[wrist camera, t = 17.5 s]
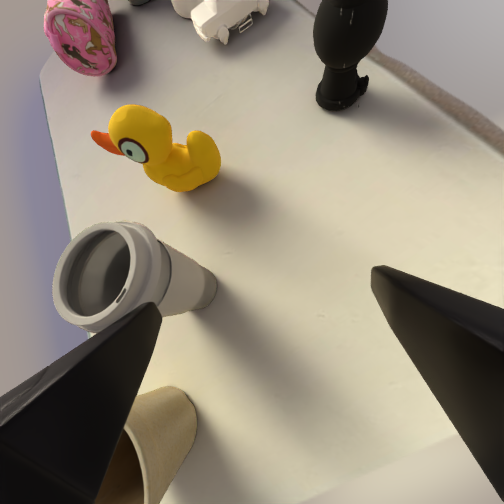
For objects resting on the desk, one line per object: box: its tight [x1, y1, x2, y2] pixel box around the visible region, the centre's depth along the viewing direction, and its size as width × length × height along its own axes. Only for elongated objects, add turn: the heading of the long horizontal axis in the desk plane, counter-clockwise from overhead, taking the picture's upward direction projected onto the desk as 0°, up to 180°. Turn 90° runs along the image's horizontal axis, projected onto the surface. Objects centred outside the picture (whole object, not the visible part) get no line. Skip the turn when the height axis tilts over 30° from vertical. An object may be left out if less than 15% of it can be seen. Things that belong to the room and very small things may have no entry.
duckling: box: [91, 104, 221, 192], centre depth 22 cm, size 11×5×10 cm, turn 88°
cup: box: [52, 221, 217, 333], centre depth 17 cm, size 7×7×12 cm
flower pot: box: [95, 386, 197, 504], centre depth 16 cm, size 9×9×9 cm
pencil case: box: [44, 0, 117, 76], centre depth 37 cm, size 21×9×9 cm, turn 20°
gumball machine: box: [313, 0, 388, 111], centre depth 20 cm, size 7×6×10 cm
